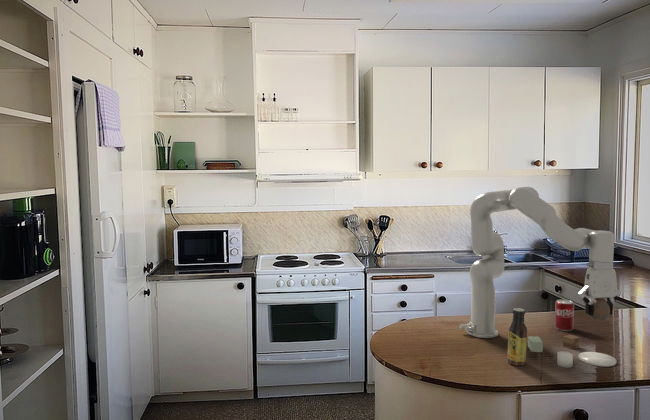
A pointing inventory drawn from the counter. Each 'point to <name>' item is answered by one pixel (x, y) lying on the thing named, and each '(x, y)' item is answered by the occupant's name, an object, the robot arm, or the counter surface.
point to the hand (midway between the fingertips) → (598, 313)
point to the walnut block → (571, 341)
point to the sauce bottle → (517, 338)
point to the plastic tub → (565, 359)
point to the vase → (600, 310)
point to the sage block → (535, 344)
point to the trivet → (597, 359)
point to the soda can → (564, 315)
